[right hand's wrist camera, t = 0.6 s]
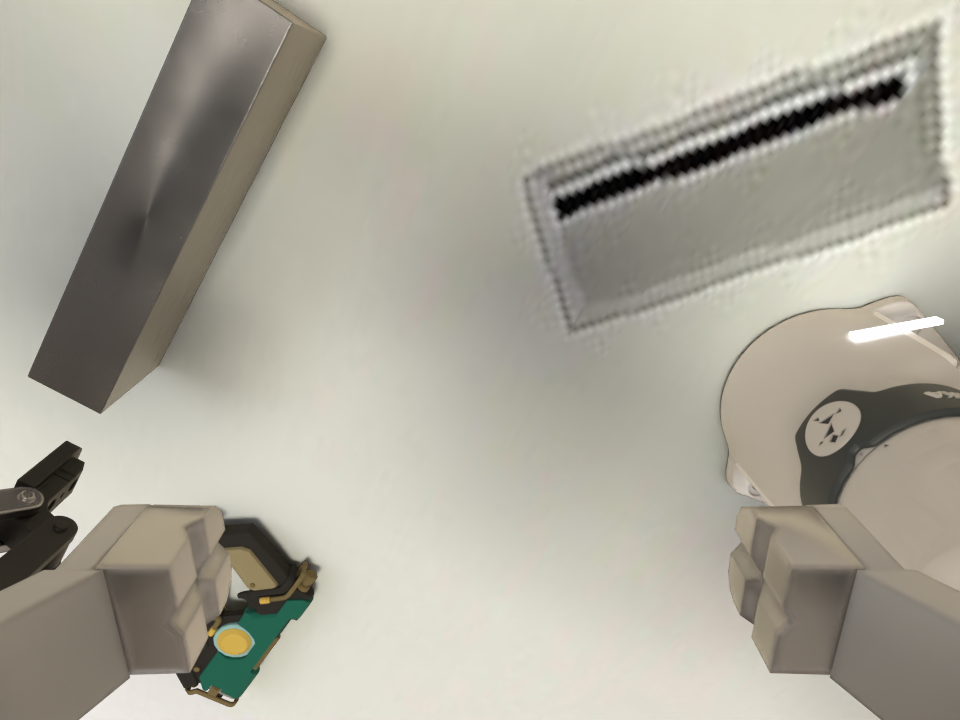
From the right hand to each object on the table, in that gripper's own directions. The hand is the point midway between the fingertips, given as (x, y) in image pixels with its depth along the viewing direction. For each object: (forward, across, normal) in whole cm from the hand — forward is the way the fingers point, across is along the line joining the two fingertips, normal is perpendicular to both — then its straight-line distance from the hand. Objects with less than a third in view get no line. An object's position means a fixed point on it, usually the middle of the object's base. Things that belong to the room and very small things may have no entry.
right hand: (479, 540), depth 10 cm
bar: (+37, -19, +1) cm, 41 cm away
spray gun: (+37, -22, -34) cm, 54 cm away
